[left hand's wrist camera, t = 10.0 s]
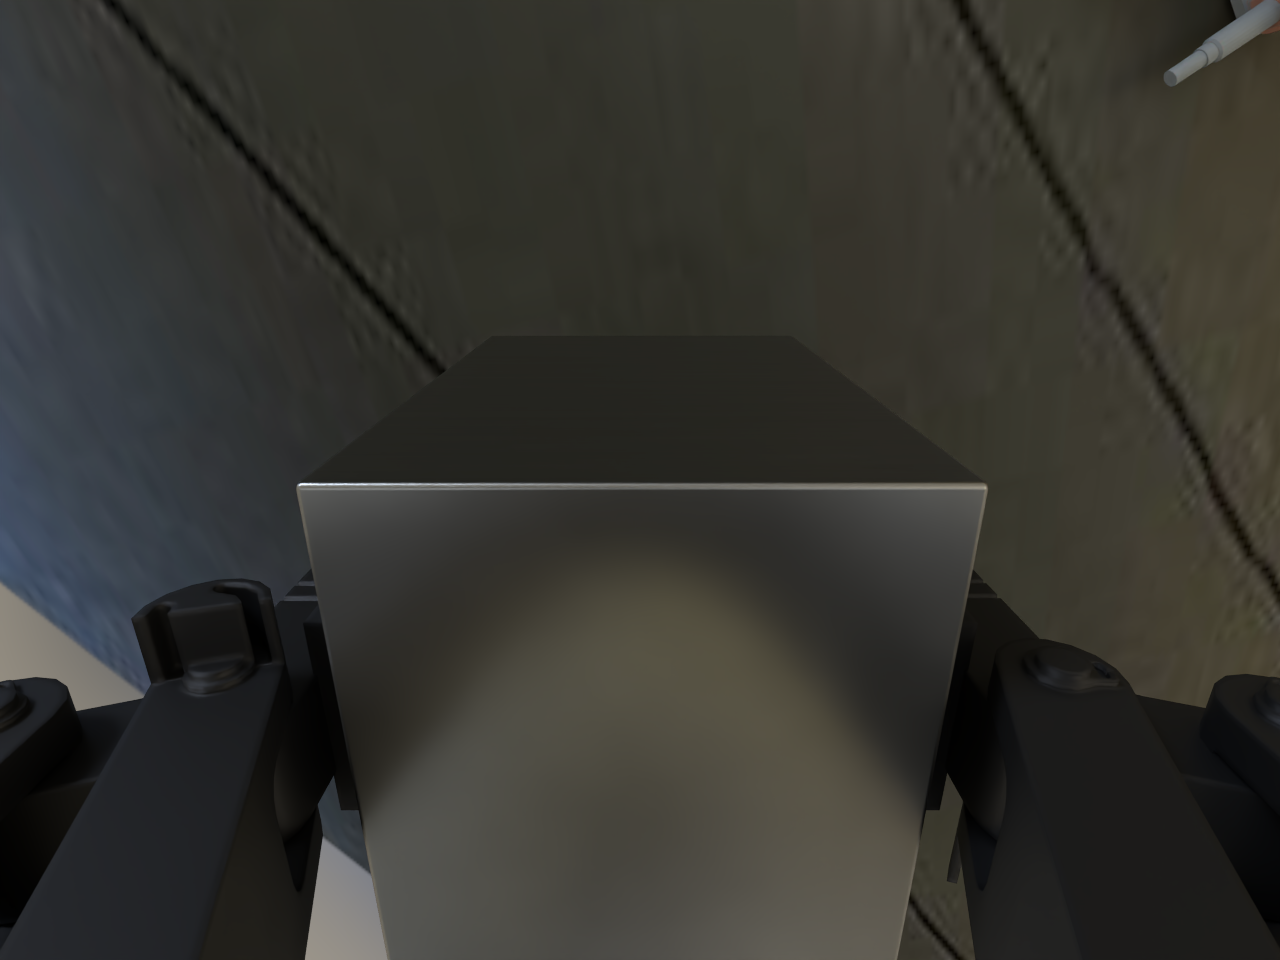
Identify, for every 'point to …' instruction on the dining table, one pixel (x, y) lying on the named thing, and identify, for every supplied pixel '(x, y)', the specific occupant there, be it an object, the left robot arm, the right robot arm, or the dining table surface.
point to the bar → (642, 650)
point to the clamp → (1230, 36)
